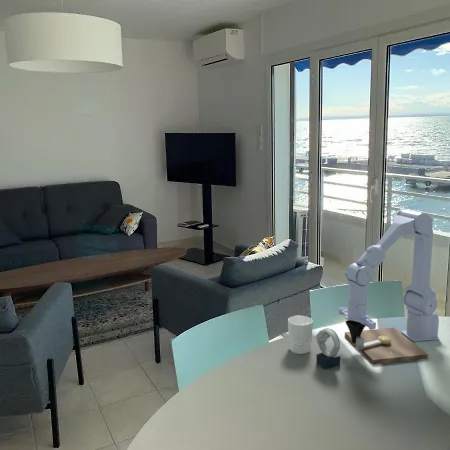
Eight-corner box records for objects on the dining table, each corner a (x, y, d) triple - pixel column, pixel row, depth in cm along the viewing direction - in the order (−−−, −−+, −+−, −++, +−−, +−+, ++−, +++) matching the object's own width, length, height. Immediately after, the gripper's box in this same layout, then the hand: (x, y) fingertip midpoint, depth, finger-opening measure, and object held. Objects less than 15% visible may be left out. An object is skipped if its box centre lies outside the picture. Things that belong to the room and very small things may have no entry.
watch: (326, 356, 147) (327, 323, 144) (344, 367, 140) (345, 333, 137) (312, 360, 144) (312, 327, 142) (329, 372, 137) (330, 337, 135)
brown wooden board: (393, 331, 164) (393, 327, 163) (427, 358, 144) (427, 353, 144) (344, 336, 160) (344, 331, 160) (372, 364, 141) (373, 359, 141)
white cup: (285, 353, 149) (285, 323, 147) (289, 342, 156) (290, 314, 154) (310, 356, 147) (311, 326, 145) (313, 345, 154) (314, 316, 152)
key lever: (384, 337, 155) (385, 328, 154) (393, 342, 151) (394, 333, 150) (352, 346, 149) (352, 336, 148) (361, 351, 146) (361, 341, 145)
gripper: (331, 296, 151) (330, 336, 154) (364, 311, 139) (362, 354, 141) (348, 293, 154) (347, 331, 157) (382, 307, 142) (379, 349, 145)
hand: (355, 342), depth 150 cm, fingers closed
